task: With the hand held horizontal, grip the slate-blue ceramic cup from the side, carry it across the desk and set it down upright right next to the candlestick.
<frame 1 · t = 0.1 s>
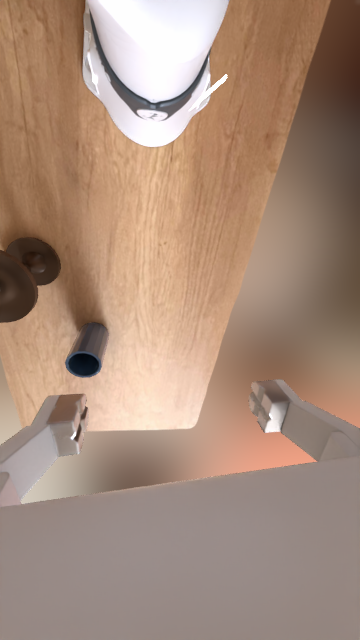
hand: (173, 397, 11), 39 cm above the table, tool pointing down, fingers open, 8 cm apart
cup: (94, 334, 52), on the table
candlestick: (35, 261, 42), on the table
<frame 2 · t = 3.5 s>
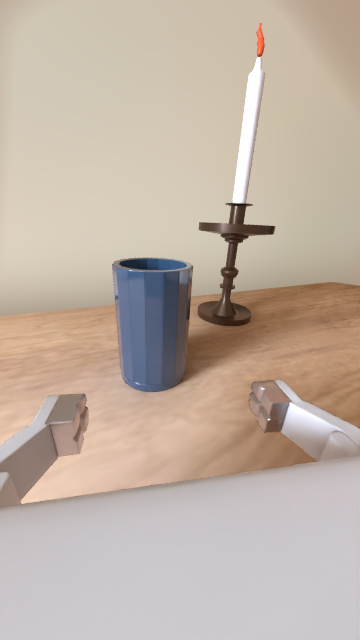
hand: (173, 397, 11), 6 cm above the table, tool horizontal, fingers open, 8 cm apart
cup: (153, 369, 23), on the table
candlestick: (223, 315, 38), on the table
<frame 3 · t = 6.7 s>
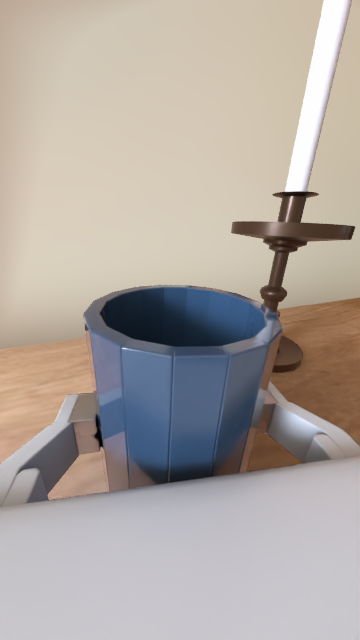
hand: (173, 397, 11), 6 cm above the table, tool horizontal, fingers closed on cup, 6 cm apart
cup: (172, 492, 12), on the table, touching gripper
candlestick: (260, 351, 27), on the table
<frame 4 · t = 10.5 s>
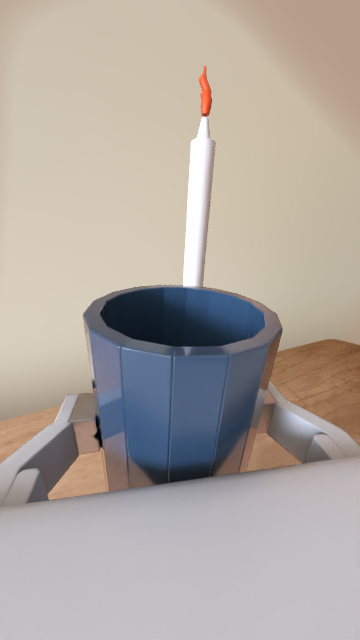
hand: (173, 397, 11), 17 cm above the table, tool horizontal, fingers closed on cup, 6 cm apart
cup: (172, 492, 12), point 11 cm above the table, touching gripper
candlestick: (181, 434, 28), on the table
when the fingers open (6 cm above the table, at t = 14.5 s): cup stays where it is, on the table.
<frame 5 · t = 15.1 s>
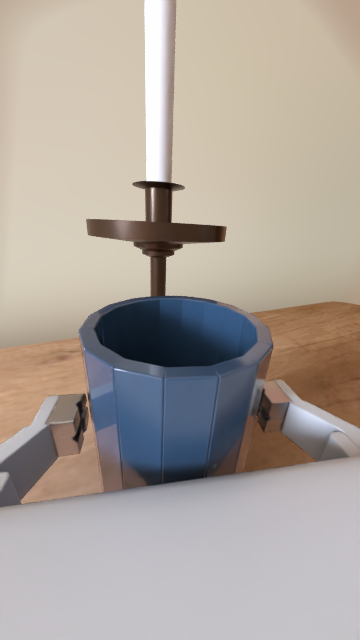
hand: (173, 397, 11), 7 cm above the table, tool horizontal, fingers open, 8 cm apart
cup: (169, 499, 12), on the table
candlestick: (157, 372, 23), on the table
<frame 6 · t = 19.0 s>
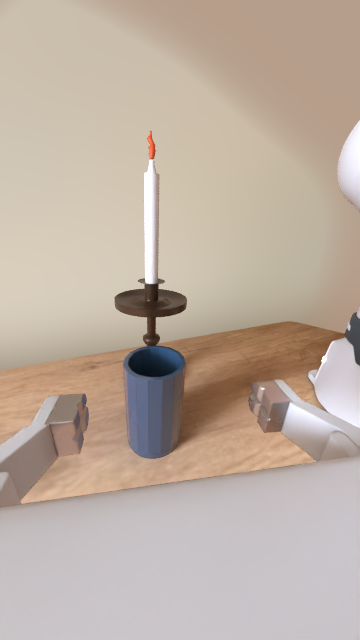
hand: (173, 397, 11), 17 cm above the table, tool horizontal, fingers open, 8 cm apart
cup: (154, 433, 28), on the table
candlestick: (151, 376, 39), on the table
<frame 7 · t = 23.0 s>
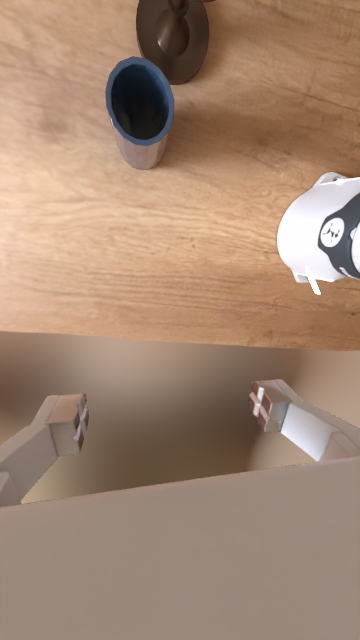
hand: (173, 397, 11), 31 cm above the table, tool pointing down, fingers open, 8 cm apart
cup: (141, 142, 31), on the table
candlestick: (172, 38, 28), on the table
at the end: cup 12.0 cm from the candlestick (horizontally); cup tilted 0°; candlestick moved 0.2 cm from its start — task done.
